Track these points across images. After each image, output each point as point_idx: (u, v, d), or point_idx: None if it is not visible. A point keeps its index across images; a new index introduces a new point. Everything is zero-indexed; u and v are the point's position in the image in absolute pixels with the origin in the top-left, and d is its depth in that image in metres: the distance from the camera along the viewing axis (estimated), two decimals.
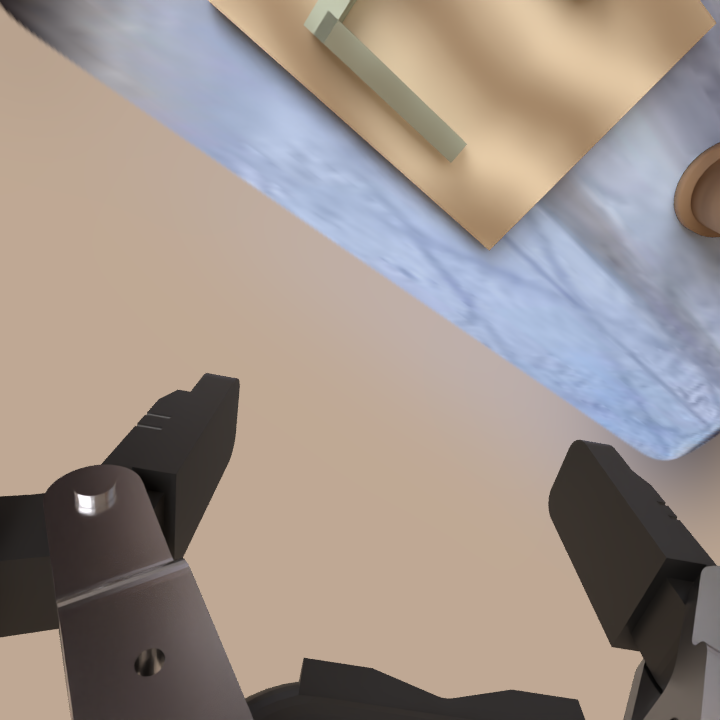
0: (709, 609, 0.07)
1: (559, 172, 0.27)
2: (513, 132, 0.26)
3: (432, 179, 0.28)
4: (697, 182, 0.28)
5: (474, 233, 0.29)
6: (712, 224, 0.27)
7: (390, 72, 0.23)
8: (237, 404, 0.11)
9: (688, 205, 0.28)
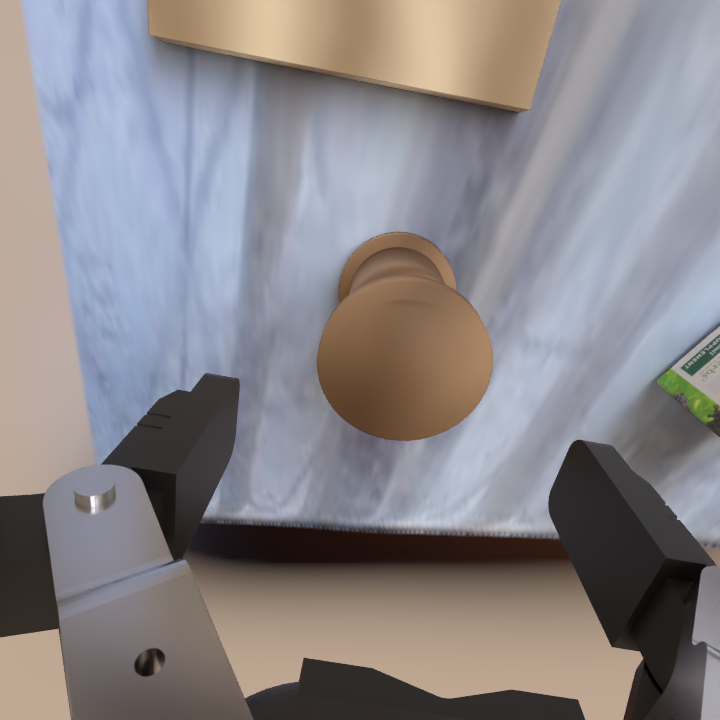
0: (709, 609, 0.07)
1: (298, 54, 0.18)
2: None
3: None
4: (384, 249, 0.22)
5: None
6: (350, 289, 0.20)
7: None
8: (237, 404, 0.11)
9: (358, 262, 0.22)
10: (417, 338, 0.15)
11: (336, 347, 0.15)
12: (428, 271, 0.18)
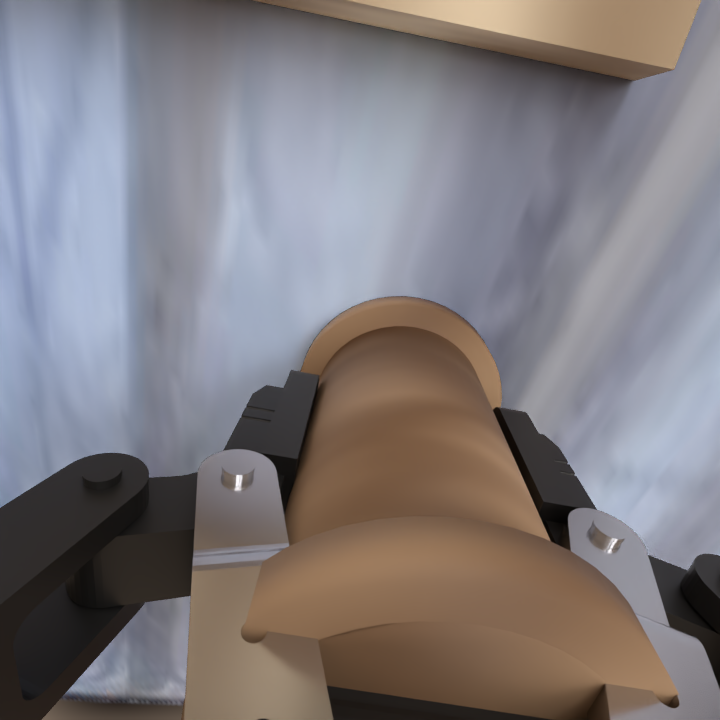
0: (581, 554, 0.07)
1: None
2: None
3: None
4: (376, 329, 0.12)
5: None
6: (311, 414, 0.11)
7: None
8: None
9: (330, 351, 0.12)
10: (467, 703, 0.05)
11: None
12: (466, 404, 0.09)
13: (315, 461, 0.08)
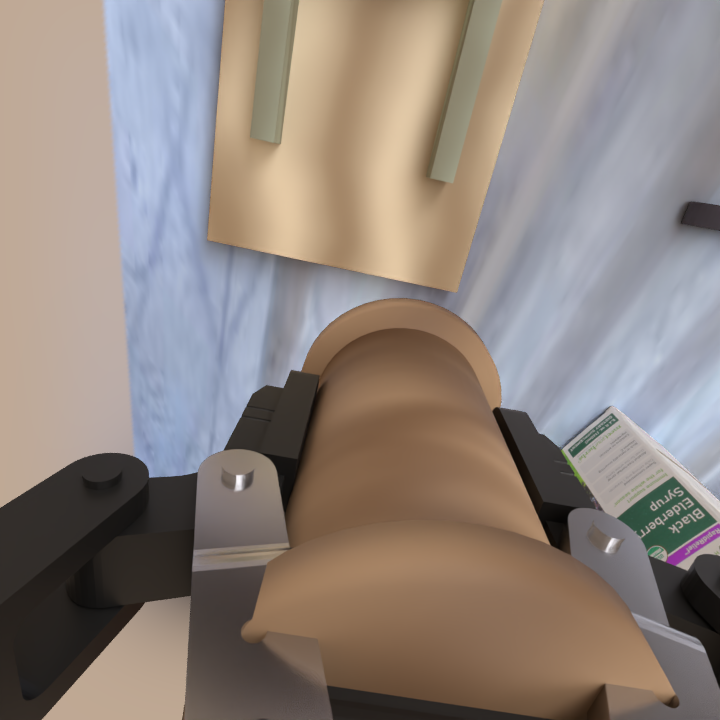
0: (581, 554, 0.07)
1: (306, 255, 0.27)
2: (312, 190, 0.26)
3: (230, 136, 0.25)
4: (375, 331, 0.12)
5: (212, 214, 0.27)
6: (311, 416, 0.11)
7: (287, 16, 0.21)
8: None
9: (330, 353, 0.12)
10: None
11: None
12: (465, 406, 0.09)
13: (315, 464, 0.08)
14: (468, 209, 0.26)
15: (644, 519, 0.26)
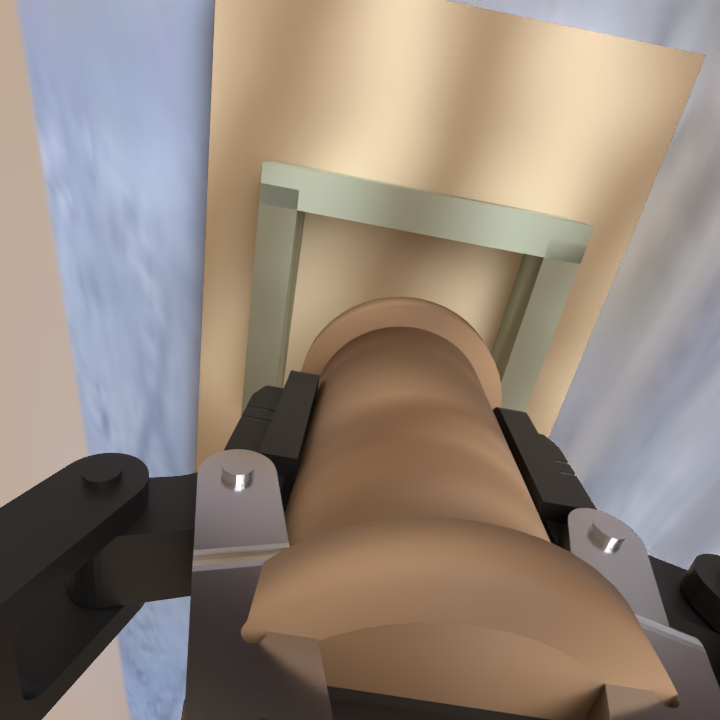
0: (581, 554, 0.07)
1: None
2: None
3: (218, 403, 0.20)
4: (376, 329, 0.12)
5: None
6: (311, 414, 0.11)
7: (283, 309, 0.16)
8: None
9: (330, 351, 0.12)
10: (466, 704, 0.05)
11: None
12: (466, 404, 0.09)
13: (314, 462, 0.08)
14: None
15: None
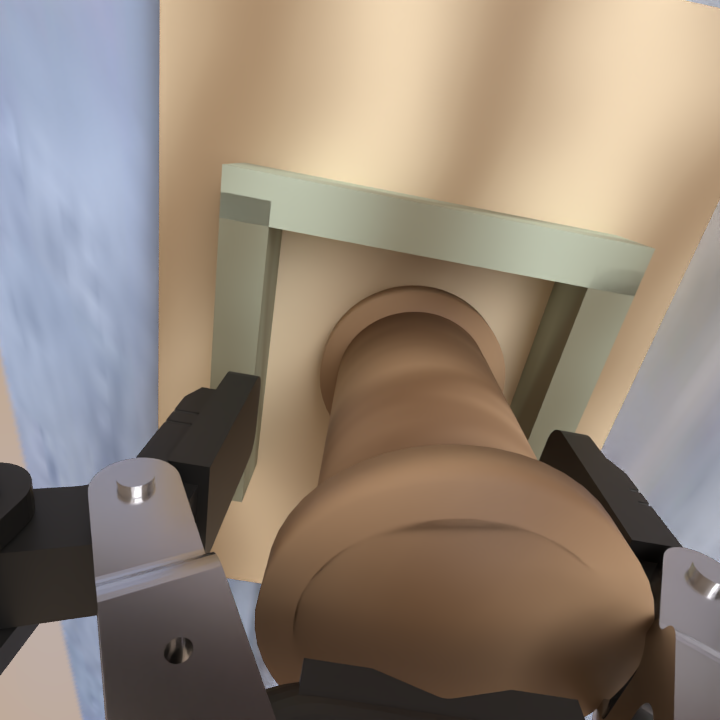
0: (673, 591, 0.07)
1: None
2: None
3: None
4: (392, 315, 0.13)
5: None
6: (337, 388, 0.12)
7: (253, 351, 0.13)
8: (258, 401, 0.11)
9: (351, 335, 0.14)
10: (483, 591, 0.06)
11: (296, 603, 0.06)
12: (476, 374, 0.10)
13: (348, 420, 0.09)
14: None
15: None
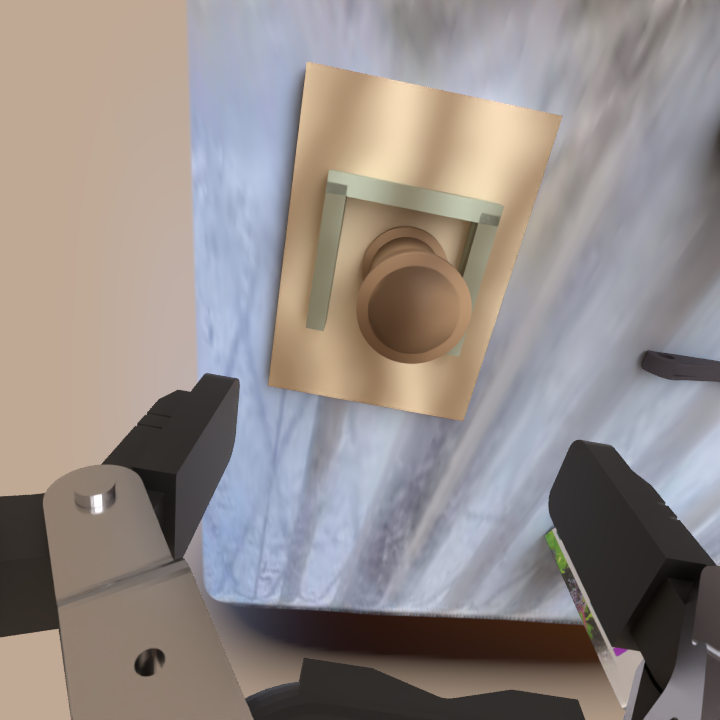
0: (709, 609, 0.07)
1: (344, 395, 0.35)
2: (349, 351, 0.34)
3: (288, 316, 0.33)
4: (396, 238, 0.29)
5: (272, 368, 0.34)
6: (372, 266, 0.28)
7: (335, 252, 0.29)
8: (237, 404, 0.11)
9: (377, 248, 0.30)
10: (422, 291, 0.22)
11: (369, 297, 0.23)
12: (429, 252, 0.26)
13: None
14: (471, 364, 0.34)
15: None
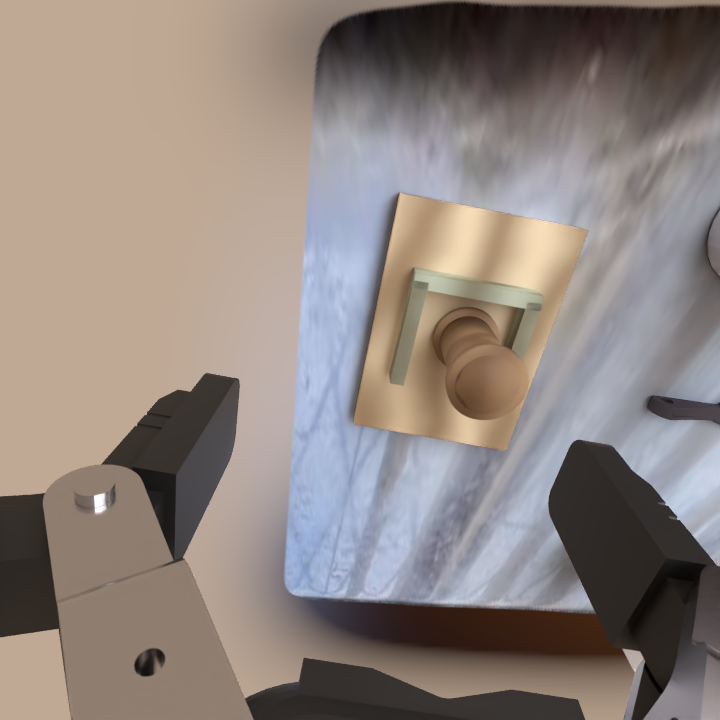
0: (709, 609, 0.07)
1: (413, 431, 0.44)
2: (419, 398, 0.43)
3: (373, 372, 0.42)
4: (461, 317, 0.39)
5: (357, 410, 0.44)
6: (445, 340, 0.38)
7: (416, 329, 0.38)
8: (237, 404, 0.11)
9: (446, 324, 0.39)
10: (494, 372, 0.32)
11: (456, 376, 0.32)
12: (491, 334, 0.36)
13: (457, 345, 0.35)
14: None
15: None
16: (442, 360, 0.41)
